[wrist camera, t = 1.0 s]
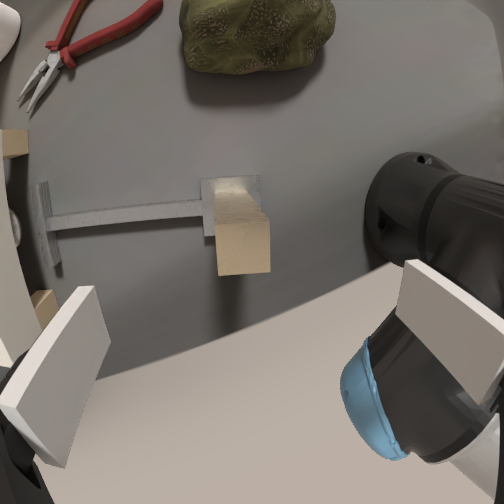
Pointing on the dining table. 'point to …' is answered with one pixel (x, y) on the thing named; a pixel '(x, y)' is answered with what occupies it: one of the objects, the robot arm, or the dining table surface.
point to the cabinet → (17, 274)
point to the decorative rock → (254, 34)
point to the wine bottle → (8, 29)
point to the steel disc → (15, 227)
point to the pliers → (81, 44)
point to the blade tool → (210, 206)
